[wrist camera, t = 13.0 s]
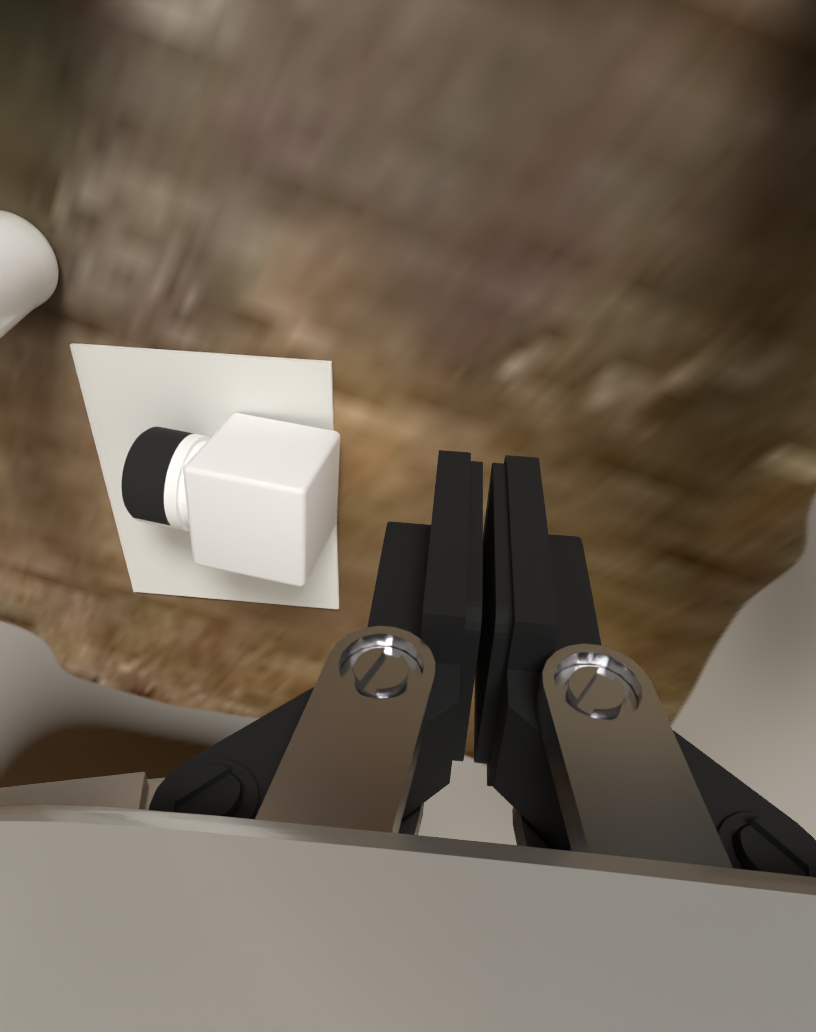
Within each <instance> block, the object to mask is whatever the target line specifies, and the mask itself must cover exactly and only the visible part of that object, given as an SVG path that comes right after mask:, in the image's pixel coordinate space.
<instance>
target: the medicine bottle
mask: <svg viewBox="0 0 816 1032" xmlns="http://www.w3.org/2000/svg"><path fill="white" fill-rule="evenodd" d="M339 455H340V435H339V433H338V432H336V431H332V430H326V429H321V428H315V427H310V426H305V425H299V424H294V423H289V422H283V421H278V420H272V419H267V418H262V417H256V416H251V415H246V414H240V413H234V414H232V415H231V416H230V417H229V418H228V419H227V421H226V422H225V423H224V424H223V425H222V426H221V427H220V428H219V429H218V430H217V431H216V432H215V433H214V435H213V436H212V437H209V436H205V435H200V434H194V433H189V432H184V431H179V430H173V429H168V428H163V427H152V428H149V429H148V430H146V431H144V432H143V433H141V434H140V435H139V436H138V437H137V438H136V440H135V441H134V443H133V444H132V446H131V448H130V450H129V452H128V454H127V457H126V460H125V464H124V468H123V473H122V483H121V488H122V498H123V502H124V505H125V507H126V509H127V511H128V512H129V514H130V515H131V516H132V517H133V518H134V519H135V520H137V521H140V522H145V523H150V524H154V525H159V526H164V527H169V528H174V529H178V530H183V531H189V532H190V538H191V547H192V555H193V561H194V563H195V564H197V565H200V566H205V567H210V568H214V569H219V570H224V571H229V572H233V573H238V574H243V575H247V576H252V577H257V578H261V579H266V580H271V581H275V582H280V583H285V584H289V585H294V586H299V587H300V586H303V585H305V583H306V581H307V579H308V577H309V576H310V574H311V572H312V570H313V568H314V566H315V564H316V562H317V560H318V558H319V556H320V554H321V552H322V550H323V548H324V546H325V544H326V542H327V540H328V538H329V536H330V534H331V532H332V530H333V529H334V527H335V525H336V522H337V504H338V479H339Z"/></svg>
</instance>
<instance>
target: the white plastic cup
mask: <svg viewBox="0 0 816 1032" xmlns="http://www.w3.org/2000/svg"><path fill="white" fill-rule="evenodd" d="M58 277H59V269H58V263H57V259H56V256H55V254H54V251H53V249H52V247H51V245H50V244H49V242H48V241H47V239H46V238H45V237H44V235H43V234H42V233H41V232H40V231H39V230H38V229H37V228H36V227H35V226H34V225H32V224H31V223H30V222H28V221H27V220H25V219H24V218H22V217H20V216H18V215H16V214H13V213H10V212H7V211H2V210H0V339H1V338H2V337H3V336H4V335H5V334H6V333H7V332H9V331H10V330H11V329H12V328H13V327H14V326H15V325H16V324H18V323H19V322H20V321H21V320H22V319H23V318H24V317H25V316H27V315H28V314H29V313H30V312H31V311H32V310H34V309H36V308H37V307H39V306H40V305H41V304H43V303H44V302H46V301H47V300H48V299H49V298H50V297H51V296H52V294H53V293H54V291H55V289H56V287H57V283H58Z"/></svg>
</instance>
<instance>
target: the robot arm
mask: <svg viewBox="0 0 816 1032" xmlns="http://www.w3.org/2000/svg"><path fill="white" fill-rule="evenodd" d="M474 678H475V714H474V762H475V763H486V764H487V786H494V788H495V789H496V790H497V791H498V792H499V793H500V794H501V795H502V796H503V797H504V798H505V799H506V800H507V801H508V802H509V803H510V804H511V805H512V806H513V810H512V811H513V812H512V813H513V828H514V833H515V838H516V843H517V846H516V845H505V844H496V843H486V842H477V841H467V840H457V839H447V838H438V837H428V836H418V833H419V828H420V824H421V820H422V816H423V806H424V802H425V801H427V800H428V799H429V798H430V797H432V796H433V795H434V794H436V793H437V792H438V791H440V790H441V789H442V788H443V787H445V786H446V785H448V784H449V783H450V774H451V766H452V760H455V761H463V759H464V753H465V745H466V738H467V730H468V723H469V715H470V708H471V700H472V693H473V685H474ZM0 1032H816V840H815V839H814V838H813V837H812V836H811V835H810V834H809V833H807V832H806V831H805V830H804V829H803V828H802V827H801V826H800V825H798V823H796V822H795V821H794V820H792V819H791V818H790V817H788V816H787V815H786V814H784V813H783V812H782V811H780V810H779V809H778V808H776V807H775V806H774V805H772V804H771V803H770V802H768V801H767V800H766V799H764V798H763V797H762V796H760V795H759V794H758V793H756V792H755V791H753V790H752V789H751V788H750V787H748V786H747V785H745V784H744V783H743V782H742V781H740V780H739V779H738V778H736V777H735V776H734V775H732V774H731V773H729V772H728V771H727V770H726V769H724V768H723V767H722V766H720V765H719V764H717V763H716V762H715V761H714V760H712V759H711V758H710V757H708V756H707V755H705V754H704V753H703V752H702V751H700V750H699V749H697V748H696V747H695V746H694V745H692V744H691V743H690V742H688V741H687V740H685V739H684V738H683V737H681V736H680V735H679V734H677V733H676V732H675V731H673V730H672V728H671V726H670V723H669V721H668V719H667V717H666V714H665V712H664V710H663V707H662V705H661V703H660V701H659V698H658V696H657V694H656V692H655V689H654V687H653V685H652V683H651V681H650V679H649V678H648V676H647V675H646V673H645V672H644V670H643V669H642V668H641V667H640V666H639V665H637V664H636V663H635V662H634V661H633V660H632V659H631V658H629V657H627V656H625V655H624V654H622V653H620V652H618V651H616V650H614V649H610V648H607V647H604V646H601V640H600V635H599V629H598V624H597V619H596V613H595V608H594V603H593V597H592V592H591V587H590V581H589V576H588V570H587V565H586V560H585V554H584V549H583V544H582V541H581V539H580V538H579V537H575V536H562V535H550V534H548V528H547V520H546V512H545V504H544V496H543V488H542V480H541V471H540V463H539V458H535V457H522V456H508V455H506V456H505V460H504V464H502V463H492V468H491V476H490V484H489V492H488V500H487V508H486V517H485V525H484V533H483V462H475V461H471V453H468V452H455V451H442V450H439V455H438V465H437V475H436V485H435V494H434V504H433V514H432V524H431V525H425V524H412V523H400V522H388V523H387V527H386V532H385V538H384V543H383V548H382V553H381V559H380V564H379V569H378V575H377V580H376V585H375V591H374V596H373V601H372V606H371V612H370V617H369V622H368V627H367V628H362V629H359V630H357V631H354V632H352V633H349V634H348V635H346V636H345V637H344V638H343V639H341V640H340V641H339V642H337V643H336V645H335V646H334V648H333V649H332V651H331V652H330V654H329V656H328V658H327V660H326V662H325V665H324V667H323V669H322V671H321V674H320V676H319V678H318V680H317V682H316V685H315V687H313V688H311V689H310V690H308V691H306V692H304V693H303V694H301V695H299V696H297V697H296V698H294V699H292V700H291V701H289V702H287V703H285V704H284V705H282V706H280V707H279V708H277V709H275V710H273V711H272V712H270V713H268V714H266V715H265V716H263V717H261V718H260V719H258V720H256V721H254V722H253V723H251V724H249V725H247V726H246V727H244V728H242V729H241V730H239V731H237V732H235V733H234V734H232V735H230V736H228V737H227V738H225V739H223V740H222V741H220V742H218V743H216V744H215V745H213V746H212V747H210V748H208V749H206V750H204V751H203V752H201V753H199V754H197V755H196V756H194V757H192V758H191V759H189V760H187V761H185V762H184V763H182V764H181V765H180V766H179V767H177V768H176V769H174V770H173V771H172V772H171V773H169V774H168V775H167V776H166V778H159V779H150V780H147V778H146V774H145V772H140V773H132V774H123V775H115V776H105V777H96V778H87V779H78V780H69V781H60V782H51V783H42V784H33V785H24V786H16V787H6V788H0Z"/></svg>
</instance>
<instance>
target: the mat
mask: <svg viewBox="0 0 816 1032" xmlns="http://www.w3.org/2000/svg"><path fill="white" fill-rule="evenodd" d="M70 348H71V352H72V356H73V360H74V364H75V367H76V371H77V375H78V379H79V383H80V387H81V391H82V394H83V398H84V402H85V406H86V410H87V414H88V417H89V421H90V425H91V429H92V433H93V437H94V441H95V444H96V448H97V452H98V456H99V460H100V464H101V468H102V471H103V475H104V479H105V483H106V487H107V491H108V495H109V498H110V502H111V506H112V510H113V514H114V518H115V521H116V525H117V529H118V533H119V537H120V541H121V545H122V548H123V552H124V556H125V560H126V564H127V568H128V572H129V575H130V579H131V583H132V587H133V591H134V592H143V593H155V594H166V595H178V596H189V597H201V598H212V599H224V600H235V601H247V602H258V603H270V604H281V605H293V606H305V607H316V608H328V609H339V576H338V543H337V522H336V525H335V527H334V529H333V530H332V532H331V534H330V536H329V538H328V540H327V542H326V544H325V546H324V548H323V550H322V552H321V554H320V556H319V558H318V560H317V562H316V564H315V566H314V568H313V570H312V572H311V574H310V576H309V577H308V579H307V581H306V583H305V585H303V586H300V587H299V586H294V585H289V584H285V583H280V582H275V581H271V580H266V579H261V578H257V577H252V576H247V575H243V574H238V573H233V572H229V571H224V570H219V569H214V568H210V567H205V566H200V565H197V564H195V563H194V561H193V555H192V547H191V538H190V532H189V531H183V530H178V529H174V528H169V527H164V526H159V525H154V524H150V523H145V522H140V521H137V520H135V519H134V518H133V517H132V516H131V515H130V514H129V512H128V511H127V509H126V507H125V505H124V502H123V498H122V488H121V483H122V473H123V468H124V464H125V460H126V457H127V454H128V452H129V450H130V448H131V446H132V444H133V443H134V441H135V440H136V438H137V437H138V436H139V435H140V434H141V433H143V432H144V431H146V430H148V429H149V428H152V427H163V428H168V429H173V430H179V431H184V432H189V433H194V434H200V435H205V436H209V437H212V436H213V435H214V433H215V432H216V431H217V430H218V429H219V428H220V427H221V426H222V425H223V424H224V423H225V422H226V421H227V419H228V418H229V417H230V416H231V415H232V414H234V413H240V414H246V415H251V416H256V417H262V418H267V419H272V420H278V421H283V422H289V423H294V424H299V425H305V426H310V427H315V428H321V429H326V430H332V431H334V411H333V378H332V361H322V360H308V359H293V358H279V357H264V356H250V355H235V354H221V353H206V352H192V351H177V350H162V349H148V348H133V347H119V346H104V345H90V344H75V343H72V344H71V345H70Z"/></svg>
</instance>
